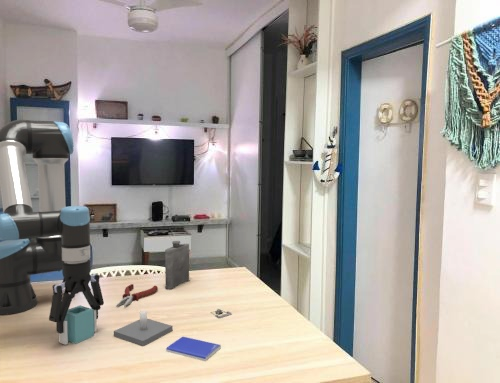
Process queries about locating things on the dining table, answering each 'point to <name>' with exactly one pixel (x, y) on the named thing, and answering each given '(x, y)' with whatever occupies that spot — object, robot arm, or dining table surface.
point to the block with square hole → (79, 324)
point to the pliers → (135, 295)
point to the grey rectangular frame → (220, 313)
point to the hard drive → (193, 348)
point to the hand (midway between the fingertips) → (78, 336)
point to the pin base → (143, 330)
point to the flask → (176, 265)
